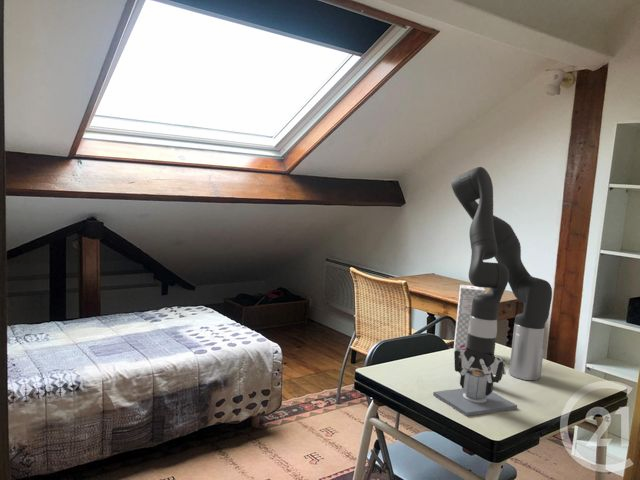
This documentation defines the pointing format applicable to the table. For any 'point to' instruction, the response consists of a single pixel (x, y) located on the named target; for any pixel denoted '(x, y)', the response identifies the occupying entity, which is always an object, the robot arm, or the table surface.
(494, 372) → the bracket
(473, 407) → the panel
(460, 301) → the box
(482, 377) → the grey octagonal hollow block
